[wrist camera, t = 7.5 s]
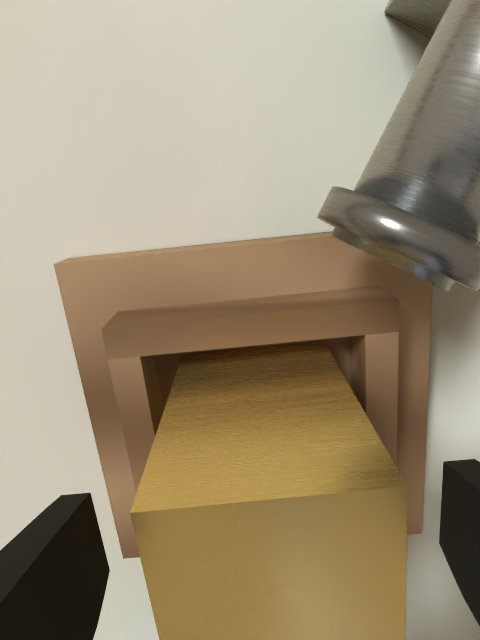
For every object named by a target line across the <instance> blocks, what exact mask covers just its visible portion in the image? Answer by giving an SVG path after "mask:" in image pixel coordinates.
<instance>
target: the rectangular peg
mask: <svg viewBox="0 0 480 640" xmlns="http://www.w3.org/2000/svg"><path fill="white" fill-rule="evenodd" d="M407 490H408V486H407V485H406V483H405V481H404V479H403V478H402V476H401V474H400V472H399V471H398V469H397V467H396V465H395V464H394V462H393V460H392V459H391V457H390V455H389V453H388V452H387V450H386V448H385V446H384V445H383V443H382V441H381V439H380V438H379V436H378V434H377V433H376V431H375V429H374V427H373V426H372V424H371V422H370V420H369V419H368V417H367V415H366V413H365V412H364V410H363V408H362V407H361V405H360V403H359V401H358V400H357V398H356V396H355V394H354V393H353V391H352V389H351V387H350V386H349V384H348V382H347V380H346V379H345V377H344V375H343V374H342V372H341V370H340V368H339V367H338V365H337V363H336V361H335V360H334V358H333V356H332V354H331V353H330V351H329V349H328V348H327V346H326V344H325V342H324V341H323V340H322V341H312V342H303V343H293V344H284V345H274V346H265V347H255V348H246V349H236V350H227V351H217V352H208V353H198V354H189V355H182V358H181V361H180V364H179V367H178V370H177V373H176V376H175V379H174V382H173V385H172V388H171V391H170V394H169V397H168V400H167V403H166V406H165V409H164V412H163V415H162V418H161V421H160V424H159V427H158V430H157V433H156V436H155V439H154V442H153V445H152V448H151V451H150V454H149V457H148V460H147V463H146V466H145V469H144V472H143V475H142V478H141V481H140V484H139V487H138V490H137V493H136V496H135V499H134V502H133V505H132V508H131V511H130V515H131V520H132V524H133V528H134V533H135V537H136V541H137V545H138V550H139V554H140V558H141V563H142V567H143V571H144V575H145V580H146V584H147V588H148V593H149V597H150V601H151V605H152V610H153V614H154V618H155V623H156V627H157V631H158V635H159V640H405V631H406V561H407Z"/></svg>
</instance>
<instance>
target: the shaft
mask: <svg viewBox="0 0 480 640" xmlns="http://www.w3.org/2000/svg"><path fill="white" fill-rule="evenodd" d="M385 13H387V14H388V15H390V16H392V17H394V18H396V19H397V20H399V21H401V22H403V23H404V24H406V25H408V26H410V27H412V28H413V29H415V30H417V31H419V32H420V33H422V34H424V35H426V36H428V37H429V38H431V40H430V42H429V44H428V46H427V48H426V50H425V52H424V54H423V56H422V58H421V60H420V61H419V63H418V65H417V67H416V69H415V71H414V73H413V75H412V77H411V79H410V81H409V83H408V85H407V87H406V89H405V91H404V93H403V95H402V97H401V99H400V101H399V103H398V105H397V107H396V109H395V111H394V113H393V115H392V117H391V118H390V120H389V122H388V124H387V126H386V128H385V130H384V132H383V134H382V136H381V138H380V140H379V142H378V144H377V146H376V148H375V150H374V152H373V154H372V156H371V158H370V160H369V162H368V164H367V166H366V168H365V170H364V172H363V174H362V175H361V177H360V179H359V181H358V183H357V185H356V187H355V189H354V191H352V190H349V189H345V188H341V187H332V188H331V190H330V192H329V194H328V196H327V198H326V200H325V202H324V204H323V206H322V208H321V210H320V213H319V215H318V217H317V218H319V219H320V220H322V221H324V222H326V223H328V224H330V225H332V226H334V227H335V229H334V231H333V233H332V234H331V236H333V237H335V238H337V239H339V240H341V241H343V242H345V243H347V244H349V245H351V246H354V247H356V248H358V249H360V250H362V251H364V252H366V253H368V254H370V255H373V256H375V257H377V258H379V259H381V260H383V261H385V262H387V263H389V264H392V265H394V266H396V267H398V268H400V269H402V270H404V271H406V272H409V273H411V274H413V275H415V276H417V277H419V278H421V279H423V280H425V281H428V282H430V283H432V284H434V285H436V286H438V287H440V288H442V289H445V290H447V291H449V290H450V289H451V287H452V285H453V284H454V283H456V284H459V285H461V286H463V287H466V288H468V289H470V290H473V291H476V292H477V291H478V290H479V288H480V246H478V243H479V242H480V0H390V1H389V3H388V5H387V7H386V9H385Z"/></svg>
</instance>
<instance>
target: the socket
mask: <svg viewBox="0 0 480 640" xmlns="http://www.w3.org/2000/svg"><path fill="white" fill-rule="evenodd" d="M332 233H333V231H332V232H322V233H312V234H302V235H293V236H283V237H273V238H263V239H253V240H243V241H234V242H224V243H214V244H204V245H194V246H184V247H175V248H165V249H155V250H145V251H135V252H126V253H116V254H106V255H96V256H86V257H76V258H68V259H66V260H63V261H61V262H58V263H56V264H54V267H55V272H56V276H57V280H58V284H59V289H60V293H61V297H62V301H63V305H64V310H65V314H66V318H67V322H68V327H69V331H70V335H71V339H72V343H73V348H74V352H75V356H76V360H77V365H78V369H79V373H80V377H81V382H82V386H83V390H84V394H85V398H86V403H87V407H88V411H89V415H90V420H91V424H92V428H93V432H94V437H95V441H96V445H97V449H98V453H99V458H100V462H101V466H102V470H103V475H104V479H105V483H106V487H107V492H108V496H109V500H110V504H111V508H112V513H113V517H114V521H115V525H116V530H117V534H118V538H119V542H120V546H121V551H122V555H123V558H134V557H140V554H139V550H138V545H137V541H136V537H135V533H134V528H133V524H132V520H131V515H130V511H131V508H132V505H133V502H134V499H135V496H136V493H137V490H138V487H139V484H140V481H141V478H142V475H143V472H144V469H145V466H146V463H147V460H148V457H149V454H150V451H151V448H152V445H153V442H154V439H155V436H156V433H157V430H158V427H159V424H160V421H161V418H162V415H163V412H164V409H165V406H166V403H167V400H168V397H169V394H170V391H171V388H172V385H173V382H174V379H175V376H176V373H177V370H178V367H179V364H180V361H181V358H182V355H189V354H198V353H208V352H217V351H227V350H236V349H246V348H255V347H265V346H274V345H284V344H293V343H303V342H312V341H322V340H323V341H324V342H325V344H326V346H327V348H328V349H329V351H330V353H331V354H332V356H333V358H334V360H335V361H336V363H337V365H338V367H339V368H340V370H341V372H342V374H343V375H344V377H345V379H346V380H347V382H348V384H349V386H350V387H351V389H352V391H353V393H354V394H355V396H356V398H357V400H358V401H359V403H360V405H361V407H362V408H363V410H364V412H365V413H366V415H367V417H368V419H369V420H370V422H371V424H372V426H373V427H374V429H375V431H376V433H377V434H378V436H379V438H380V439H381V441H382V443H383V445H384V446H385V448H386V450H387V452H388V453H389V455H390V457H391V459H392V460H393V462H394V464H395V465H396V467H397V469H398V471H399V472H400V474H401V476H402V478H403V479H404V481H405V483H406V485H407V486H408V490H407V534H419V533H422V526H423V501H424V476H425V452H426V427H427V402H428V378H429V353H430V328H431V304H432V283H430V282H428V281H425V280H423V279H421V278H419V277H417V276H415V275H413V274H411V273H409V272H406V271H404V270H402V269H400V268H398V267H396V266H394V265H392V264H389V263H387V262H385V261H383V260H381V259H379V258H377V257H375V256H373V255H370V254H368V253H366V252H364V251H362V250H360V249H358V248H356V247H354V246H351V245H349V244H347V243H345V242H343V241H341V240H339V239H337V238H335V237H333V236H331V234H332Z"/></svg>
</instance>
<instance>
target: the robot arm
mask: <svg viewBox="0 0 480 640" xmlns="http://www.w3.org/2000/svg"><path fill="white" fill-rule="evenodd" d="M439 543H440V546H441V548H442V550H443V553H444V555H445V557H446V560H447V562H448V564H449V566H450V569H451V571H452V573H453V576H454V578H455V580H456V582H457V584H458V586H459V589H460V591H461V593H462V595H463V597H464V599H465V601H466V603H467V604H468V606H469V608H470V610H471V612H472V613H473V615H474V617H475V619H476V620H477V622H478V624H479V626H480V462H479V461H477V460H475V459H470V460H458V461H447V462H444V465H443V483H442V502H441V521H440V539H439ZM109 571H110V570H109V566H108V562H107V558H106V554H105V550H104V546H103V542H102V538H101V534H100V530H99V525H98V521H97V517H96V513H95V509H94V505H93V501H92V497H91V493H83V494H71V495H61V496H60V497H59V498H58V499H56V500H55V501H54V502H53V503H52V504H51V505H49V506H48V507H47V508H46V509H45V510H44V511H43V512H42V513H41V514H40V515H38V516H37V517H36V518H35V519H34V520H33V521H32V522H31V523H30V524H29V525H28V526H27V527H25V528H24V529H23V530H22V531H21V532H20V533H19V534H18V535H17V536H16V537H15V538H14V539H13V540H11V541H10V542H9V543H8V544H7V545H6V546H5V547H4V548H3V549H2V550H1V551H0V640H93V637H94V634H95V631H96V628H97V624H98V620H99V616H100V612H101V608H102V603H103V599H104V594H105V590H106V585H107V580H108V576H109Z"/></svg>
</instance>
